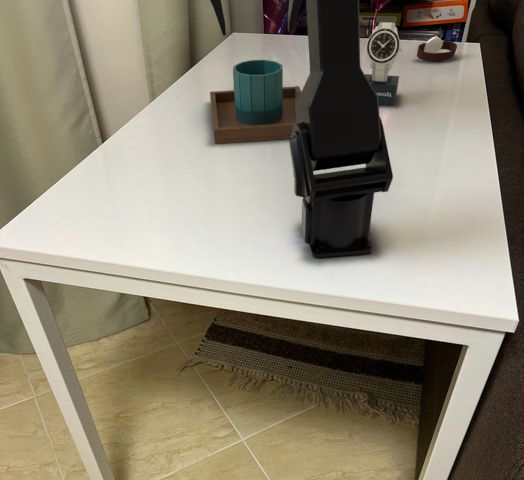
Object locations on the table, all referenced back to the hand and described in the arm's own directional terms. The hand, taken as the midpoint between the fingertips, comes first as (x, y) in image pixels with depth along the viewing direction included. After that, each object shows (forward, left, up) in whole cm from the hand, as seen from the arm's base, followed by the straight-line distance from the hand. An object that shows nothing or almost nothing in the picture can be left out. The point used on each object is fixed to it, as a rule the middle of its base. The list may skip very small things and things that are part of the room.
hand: (257, 32), depth 77 cm
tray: (0, 0, -12) cm, 12 cm away
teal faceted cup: (+1, -3, -8) cm, 9 cm away
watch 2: (-36, -24, -12) cm, 45 cm away
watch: (-20, -5, -12) cm, 24 cm away
